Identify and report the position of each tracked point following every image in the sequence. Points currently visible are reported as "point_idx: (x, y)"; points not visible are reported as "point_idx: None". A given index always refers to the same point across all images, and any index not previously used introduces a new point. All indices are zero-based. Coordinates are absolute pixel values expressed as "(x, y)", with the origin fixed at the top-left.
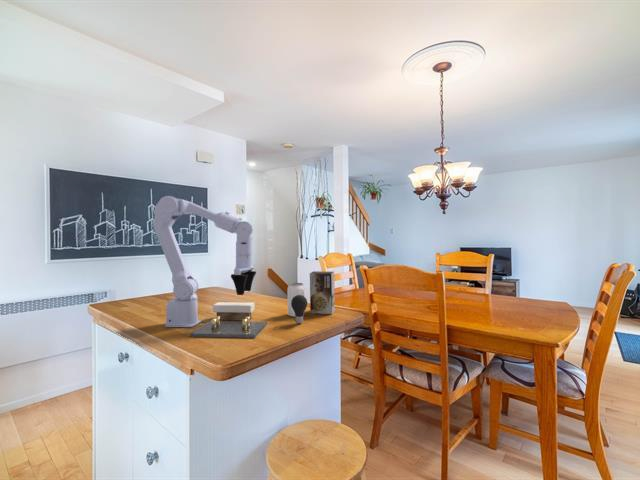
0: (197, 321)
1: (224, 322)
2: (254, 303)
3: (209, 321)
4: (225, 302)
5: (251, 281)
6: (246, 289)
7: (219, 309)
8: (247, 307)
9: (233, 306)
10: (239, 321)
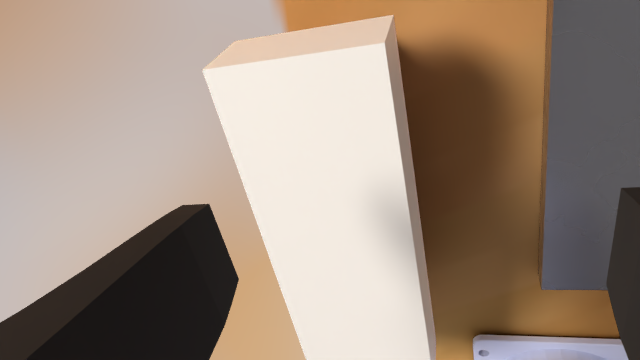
0: (536, 352)
1: (595, 175)
2: (210, 65)
3: (557, 288)
4: (304, 339)
5: (66, 332)
6: (218, 273)
7: (429, 317)
8: (394, 76)
9: (414, 234)
10: (553, 54)
